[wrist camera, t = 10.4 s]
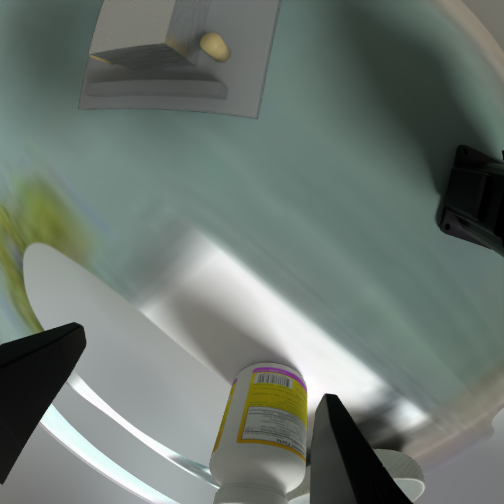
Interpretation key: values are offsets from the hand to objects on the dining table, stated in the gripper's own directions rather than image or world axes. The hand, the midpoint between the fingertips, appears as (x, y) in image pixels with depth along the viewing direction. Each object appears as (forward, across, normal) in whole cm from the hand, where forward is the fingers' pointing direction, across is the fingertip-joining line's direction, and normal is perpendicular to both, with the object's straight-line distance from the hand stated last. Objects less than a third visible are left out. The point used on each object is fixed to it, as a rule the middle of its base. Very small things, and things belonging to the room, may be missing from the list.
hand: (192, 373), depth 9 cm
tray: (+12, +8, -17) cm, 22 cm away
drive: (+11, +8, -17) cm, 22 cm away
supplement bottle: (+12, -4, +12) cm, 18 cm away
